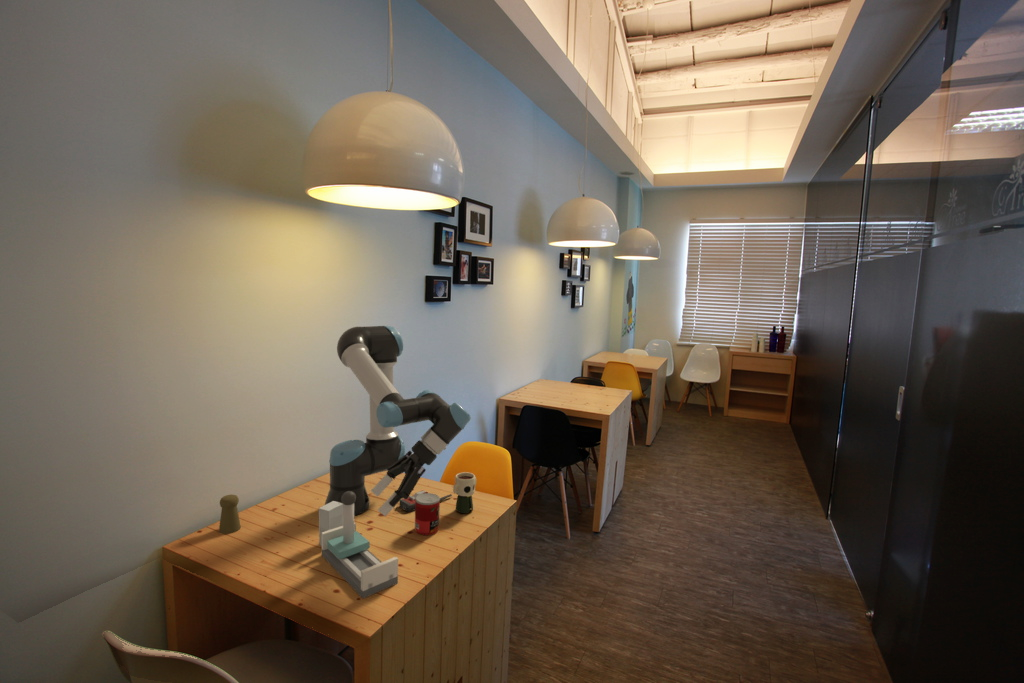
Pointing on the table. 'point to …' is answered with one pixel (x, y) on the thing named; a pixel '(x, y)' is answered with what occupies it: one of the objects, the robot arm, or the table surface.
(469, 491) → the character mug
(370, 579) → the rail track
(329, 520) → the skincare box
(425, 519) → the canned food
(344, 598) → the table surface
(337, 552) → the carriage
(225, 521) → the olive pawn figure
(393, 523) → the table surface
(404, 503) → the walkie-talkie
